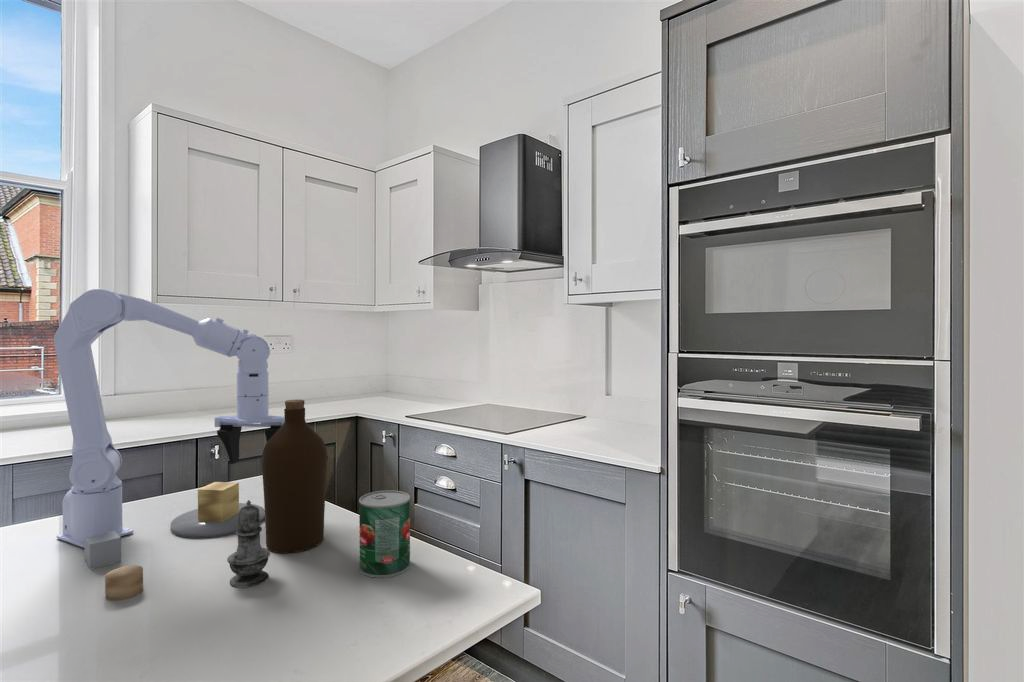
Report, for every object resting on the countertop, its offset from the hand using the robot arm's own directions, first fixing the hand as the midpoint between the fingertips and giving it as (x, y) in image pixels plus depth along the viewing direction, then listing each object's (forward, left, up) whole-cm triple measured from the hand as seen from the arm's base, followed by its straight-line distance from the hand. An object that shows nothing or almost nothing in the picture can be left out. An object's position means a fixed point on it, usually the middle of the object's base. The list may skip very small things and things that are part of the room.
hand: (253, 462), depth 109 cm
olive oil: (+19, -6, -11) cm, 23 cm away
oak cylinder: (+12, -30, -10) cm, 34 cm away
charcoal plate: (-2, -6, -10) cm, 12 cm away
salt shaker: (+24, -19, -11) cm, 32 cm away
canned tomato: (+39, -6, -11) cm, 41 cm away
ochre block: (-2, -6, -9) cm, 11 cm away
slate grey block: (-2, -26, -10) cm, 28 cm away
